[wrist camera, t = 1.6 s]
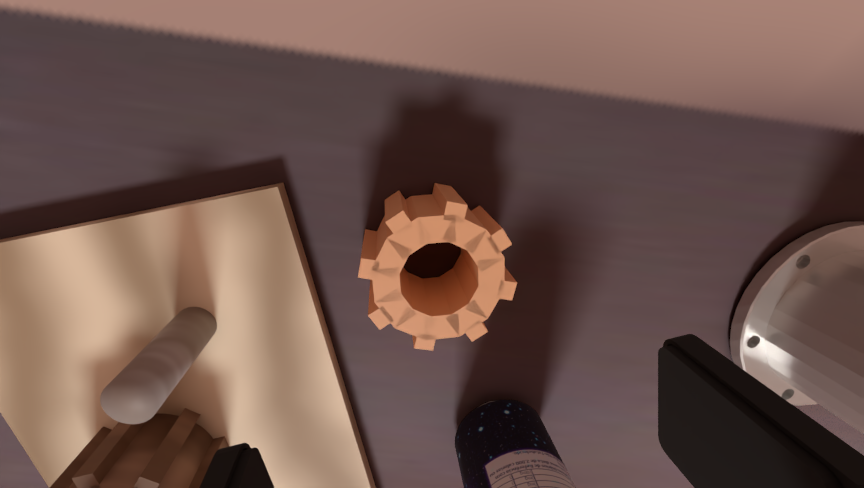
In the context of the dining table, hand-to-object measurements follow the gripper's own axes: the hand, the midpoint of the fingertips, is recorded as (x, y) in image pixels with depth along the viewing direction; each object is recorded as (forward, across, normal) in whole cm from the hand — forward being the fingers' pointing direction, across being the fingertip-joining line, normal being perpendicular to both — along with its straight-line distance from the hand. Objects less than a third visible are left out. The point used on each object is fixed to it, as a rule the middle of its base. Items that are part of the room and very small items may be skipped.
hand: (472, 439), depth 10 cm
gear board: (+14, +14, +6) cm, 21 cm away
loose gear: (+14, -1, 0) cm, 14 cm away
